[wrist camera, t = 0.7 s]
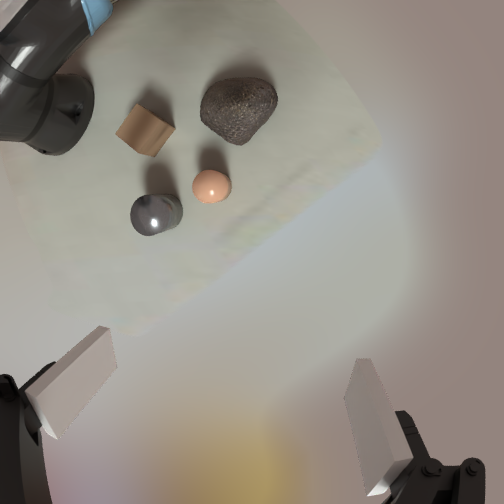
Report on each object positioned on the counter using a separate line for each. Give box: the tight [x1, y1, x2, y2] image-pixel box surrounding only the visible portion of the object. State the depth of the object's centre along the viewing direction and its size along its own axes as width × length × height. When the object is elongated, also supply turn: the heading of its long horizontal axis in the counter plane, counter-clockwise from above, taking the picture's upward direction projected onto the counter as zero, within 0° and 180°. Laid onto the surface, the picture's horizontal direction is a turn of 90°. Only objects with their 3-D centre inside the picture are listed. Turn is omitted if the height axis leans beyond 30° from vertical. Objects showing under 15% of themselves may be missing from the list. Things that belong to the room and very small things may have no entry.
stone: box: [200, 78, 278, 146], centre depth 32 cm, size 10×8×10 cm
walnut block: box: [116, 104, 175, 157], centre depth 33 cm, size 5×5×5 cm
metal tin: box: [130, 194, 183, 236], centre depth 35 cm, size 5×5×6 cm
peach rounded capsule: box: [192, 170, 232, 203], centre depth 34 cm, size 4×4×4 cm
